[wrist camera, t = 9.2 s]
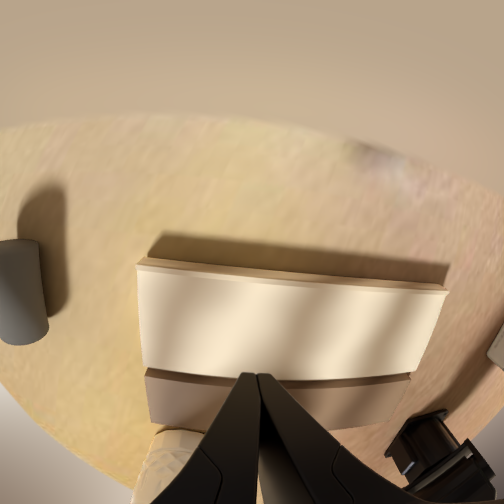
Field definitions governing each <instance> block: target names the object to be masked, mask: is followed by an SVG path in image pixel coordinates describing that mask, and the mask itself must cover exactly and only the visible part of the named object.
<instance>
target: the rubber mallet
mask: <svg viewBox="0 0 504 504" xmlns="http://www.w3.org/2000/svg"><path fill="white" fill-rule="evenodd" d="M48 330H49V323H48V318H47V313H46V307H45V301H44V295H43V288H42V280H41V271H40V260H39V245H38V242H36V241H34V240H26V239H13V240H5V241H0V338H1V339H2V340H3V341H4V342H5V343H8V344H11V345H27V344H31V343H34V342H36V341H38V340H40V339H41V338H43V337H44V336H45V335H46V334H47V332H48Z"/></svg>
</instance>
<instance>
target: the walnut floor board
mask: <svg viewBox="0 0 504 504" xmlns="http://www.w3.org/2000/svg"><path fill="white" fill-rule="evenodd" d="M406 373H407V372H405V373H398V374H390V375H381V376H371V377H359V378H344V379H322V380H277V381H278V382H279V383H280V384H281V385H282V386H283V387H284V388H285V389H286V390H287V391H288V392H289V393H290V394H291V396H292V397H293V398H294V399H295V400H296V401H297V402H298V403H299V404H300V405H301V406H302V407H303V408H304V409H305V410H306V411H307V412H308V413H309V414H310V415H311V416H312V417H313V418H314V419H315V420H316V421H317V422H318V423H319V424H320V425H321V426H323V427H324V428H325V429H326V430H327V431H329V430H338V429H346V428H354V427H360V426H367V425H372V424H378V423H383V422H388V421H389V420H390V419H391V417H392V415H393V413H394V412H395V410H396V408H397V406H398V404H399V403H400V401H401V399H402V397H403V395H404V393H405V391H406V389H407V387H408V385H409V383H410V381H411V378H410V377H409V376H408V375H407V374H406ZM144 377H145V385H146V392H147V399H148V406H149V412H150V418H151V422H152V423H157V424H162V425H168V426H175V427H181V428H189V429H197V430H206V431H207V430H208V428H209V426H210V425H211V423H212V421H213V420H214V418H215V416H216V415H217V413H218V411H219V410H220V408H221V406H222V405H223V403H224V401H225V399H226V398H227V396H228V394H229V393H230V391H231V389H232V387H233V386H234V384H235V382H236V380H237V379H238V378H232V377H220V376H210V375H200V374H192V373H184V372H177V371H170V370H163V369H157V368H151V367H148V369H147V371H146V373H145V376H144Z"/></svg>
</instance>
